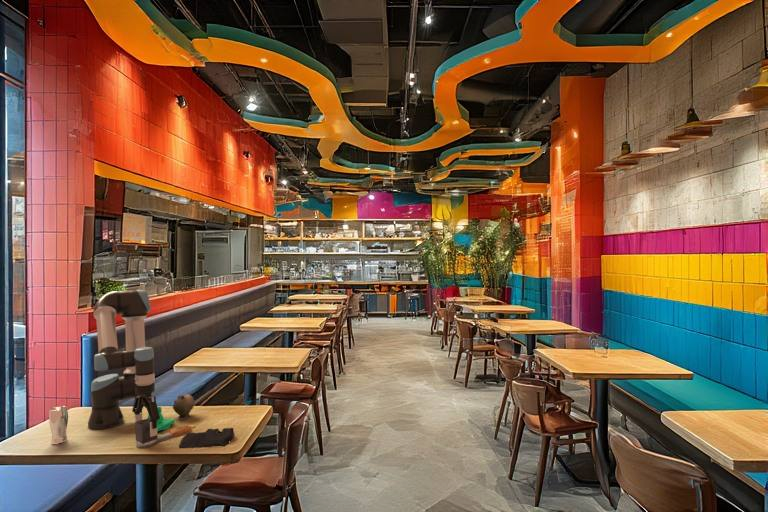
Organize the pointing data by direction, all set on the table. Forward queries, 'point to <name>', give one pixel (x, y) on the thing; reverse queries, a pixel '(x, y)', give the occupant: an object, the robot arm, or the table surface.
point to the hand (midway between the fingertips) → (146, 432)
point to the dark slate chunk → (207, 438)
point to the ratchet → (165, 436)
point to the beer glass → (58, 424)
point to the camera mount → (163, 421)
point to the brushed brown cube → (143, 431)
